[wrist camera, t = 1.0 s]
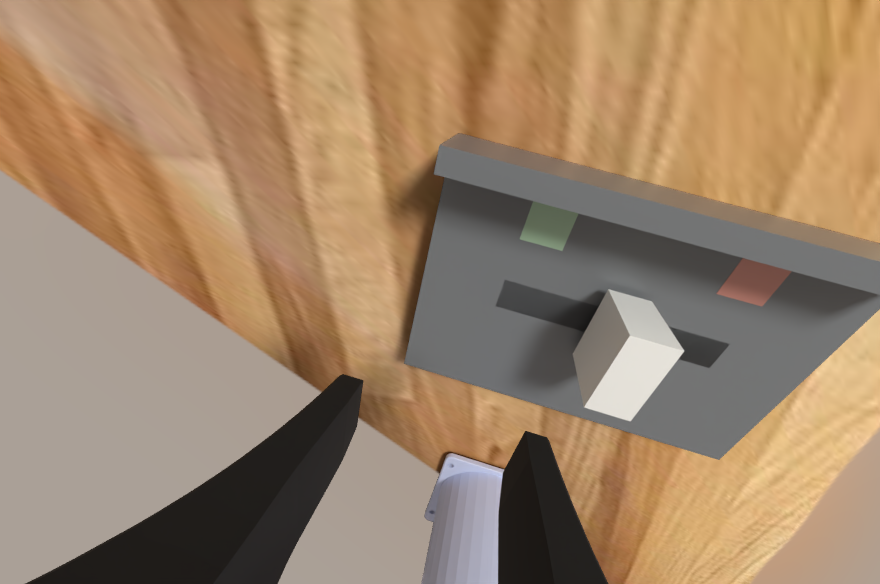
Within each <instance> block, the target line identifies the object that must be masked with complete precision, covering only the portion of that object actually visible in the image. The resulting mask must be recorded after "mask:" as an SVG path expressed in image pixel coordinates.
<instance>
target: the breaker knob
mask: <svg viewBox="0 0 880 584" xmlns="http://www.w3.org/2000/svg"><path fill="white" fill-rule="evenodd" d="M683 352H684V350H683V348H682V347H681V345H680V344H679V342H678V341H677V339H676V337H675V336H674V334H673V333H672V331H671V330H670V328H669V327H668V325H667V324H666V322H665V321H664V319H663V318H662V316H661V314H660V313H659V311H658V310H657V308H656V307H655V305H654V304H653V302H652V301H649V300H645V299H642V298H638V297H635V296H631V295H628V294H624V293H620V292H617V291H613V290H610V289H608V291H607V292H606V294H605V296H604V298H603V300H602V302H601V303H600V305H599V307H598V309H597V311H596V312H595V314H594V316H593V318H592V320H591V322H590V323H589V325H588V327H587V329H586V331H585V332H584V334H583V336H582V338H581V340H580V342H579V343H578V345H577V347H576V349H575V351H574V353H573V358H574V363H575V367H576V372H577V377H578V381H579V386H580V391H581V396H582V400H583V405H584V408H588V409H591V410H594V411H598V412H601V413H604V414H607V415H611V416H614V417H617V418H621V419H624V420H627V421H631V420H632V419H633V417H634V416H635V415H636V414H637V412H638V411H639V410H640V408H641V407H642V406H643V404H644V403H645V402H646V401H647V399H648V398H649V397H650V395H651V394H652V393H653V391H654V390H655V389H656V388H657V386H658V385H659V384H660V382H661V381H662V380H663V378H664V377H665V376H666V375H667V373H668V372H669V371H670V369H671V368H672V367H673V365H674V364H675V363H676V361H677V360H678V359H679V358H680V356H681V355H682V354H683Z"/></svg>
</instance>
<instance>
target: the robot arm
mask: <svg viewBox="0 0 880 584" xmlns="http://www.w3.org/2000/svg"><path fill="white" fill-rule="evenodd" d="M362 386H363V380H360V379H357V378H354V377H351V376H347V375H344V374H343V375H340V376H339V377H338V378H337V379H336V380H335V381H334V382H333V383H331V384H330V385H329V386H328V387H327V388H326V389H325V390H324V391H323V392H322V393H321V394H320V395H319V396H317V397H316V398H315V399H314V400H313V401H312V402H311V403H310V404H308V405H307V406H306V407H305V408H304V409H303V410H301V411H300V412H299V413H298V414H297V415H295V416H294V417H293V418H292V419H291V420H289V421H288V422H287V423H286V424H285V425H283V426H282V427H281V428H280V429H278V430H277V431H276V432H275V433H273V434H272V435H271V436H269V437H268V438H267V439H265V440H264V441H263V442H262V443H260V444H259V445H258V446H256V447H255V448H253V449H252V450H251V451H250V452H248V453H247V454H245V455H244V456H243V457H241V458H240V459H239V460H237V461H236V462H234V463H233V464H231V465H230V466H229V467H228V468H226V469H224V470H223V471H221V472H220V473H218V474H217V475H215V476H214V477H213V478H211V479H209V480H208V481H206V482H205V483H203V484H202V485H200V486H199V487H197V488H196V489H194V490H193V491H191V492H189V493H188V494H186V495H185V496H183V497H182V498H180V499H178V500H176V501H175V502H173V503H171V504H170V505H168V506H167V507H165V508H163V509H162V510H160V511H159V512H157V513H155V514H154V515H152V516H150V517H148V518H147V519H145V520H143V521H142V522H140V523H138V524H136V525H135V526H133V527H131V528H130V529H127V530H126V531H124V532H122V533H120V534H119V535H117V536H115V537H113V538H111V539H109V540H107V541H106V542H104V543H102V544H100V545H98V546H96V547H95V548H93V549H91V550H89V551H87V552H86V553H84V554H82V555H80V556H78V557H77V558H75V559H73V560H71V561H69V562H67V563H65V564H63V565H61V566H59V567H58V568H56V569H54V570H52V571H50V572H48V573H46V574H44V575H42V576H40V577H38V578H36V579H34V580H32V581H30V582H28V583H26V584H278V581H279V579H280V577H281V575H282V573H283V570H284V568H285V566H286V564H287V562H288V560H289V558H290V556H291V553H292V552H293V549H294V548H295V546H296V544H297V542H298V540H299V538H300V537H301V535H302V533H303V531H304V529H305V527H306V525H307V524H308V522H309V520H310V518H311V517H312V515H313V513H314V511H315V509H316V507H317V506H318V504H319V502H320V500H321V498H322V497H323V495H324V492H325V491H326V489H327V488H328V486H329V484H330V482H331V480H332V478H333V477H334V475H335V473H336V471H337V469H338V468H339V466H340V464H341V462H342V460H343V457H344V455H345V453H346V451H347V449H348V446H349V444H350V441H351V439H352V437H353V434H354V432H355V430H356V427H357V422H358V415H359V408H360V401H361V393H362ZM425 518H426V519H427V520H429V521H432V522H434V523H433V528H432V533H431V538H430V543H429V548H428V553H427V558H426V563H425V568H424V573H423V578H422V583H421V584H608V582H607V580H606V578H605V576H604V574H603V572H602V569H601V567H600V565H599V563H598V561H597V559H596V557H595V555H594V552H593V550H592V548H591V546H590V543H589V541H588V539H587V537H586V534H585V532H584V530H583V527H582V525H581V523H580V520H579V518H578V515H577V513H576V511H575V508H574V506H573V503H572V501H571V499H570V496H569V494H568V491H567V488H566V486H565V483H564V481H563V478H562V475H561V473H560V470H559V467H558V465H557V462H556V459H555V456H554V453H553V451H552V448H551V445H550V442H549V440H548V438H547V437H544V436H540V435H537V434H534V433H531V432H528V431H525V433H524V434H523V436H522V438H521V440H520V442H519V444H518V446H517V447H516V449H515V451H514V453H513V455H512V457H511V459H510V461H509V462H508V464H507V466H506V468H505V470H504V469H501V468H498V467H494V466H491V465H488V464H485V463H482V462H479V461H476V460H472V459H469V458H466V457H463V456H460V455H457V454H453V453H449V454H447V455H446V458H445V461H444V463H443V466H442V469H441V471H440V474H439V477H438V479H437V482H436V485H435V487H434V490H433V493H432V496H431V498H430V501H429V503H428V506H427V509H426V512H425Z"/></svg>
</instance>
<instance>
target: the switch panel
mask: <svg viewBox="0 0 880 584" xmlns="http://www.w3.org/2000/svg"><path fill="white" fill-rule="evenodd" d="M434 174H435V175H438V176H442V177H445V178H444V183H443V187H442V192H441V196H440V201H439V206H438V210H437V215H436V219H435V224H434V229H433V233H432V238H431V242H430V247H429V252H428V256H427V261H426V265H425V270H424V275H423V279H422V284H421V288H420V293H419V298H418V302H417V307H416V311H415V316H414V321H413V325H412V330H411V334H410V339H409V344H408V348H407V353H406V357H405V362H404V364H407V365H410V366H414V367H417V368H420V369H423V370H427V371H430V372H433V373H436V374H440V375H443V376H446V377H449V378H453V379H456V380H459V381H463V382H466V383H469V384H472V385H476V386H479V387H482V388H485V389H489V390H492V391H495V392H499V393H502V394H505V395H508V396H512V397H515V398H518V399H521V400H525V401H528V402H531V403H535V404H538V405H541V406H544V407H548V408H551V409H554V410H557V411H561V412H564V413H567V414H571V415H574V416H577V417H580V418H584V419H587V420H590V421H593V422H597V423H600V424H603V425H607V426H610V427H613V428H616V429H620V430H623V431H626V432H629V433H633V434H636V435H639V436H643V437H646V438H649V439H652V440H656V441H659V442H662V443H665V444H669V445H672V446H675V447H679V448H682V449H685V450H688V451H692V452H695V453H698V454H701V455H705V456H708V457H711V458H715V459H718V460H719V459H720V458H721V457H723V456H724V455H725V454H726V453H727V452H728V451H729V450H730V449H731V448H732V447H733V446H734V445H735V444H736V443H737V442H739V441H740V440H741V439H742V438H743V437H744V436H745V435H746V434H747V433H748V432H749V431H750V430H751V429H752V428H753V427H754V426H756V425H757V424H758V423H759V422H760V421H761V420H762V419H763V418H764V417H765V416H766V415H767V414H768V413H769V412H770V411H772V410H773V409H774V408H775V407H776V406H777V405H778V404H779V403H780V402H781V401H782V400H783V399H784V398H785V397H786V396H788V395H789V394H790V393H791V392H792V391H793V390H794V389H795V388H796V387H797V386H798V385H799V384H800V383H801V382H802V381H804V380H805V379H806V378H807V377H808V376H809V375H810V374H811V373H812V372H813V371H814V370H815V369H816V368H817V367H818V366H820V365H821V364H822V363H823V362H824V361H825V360H826V359H827V358H828V357H829V356H830V355H831V354H832V353H833V352H834V351H836V350H837V349H838V348H839V347H840V346H841V345H842V344H843V343H844V342H845V341H846V340H847V339H848V338H849V337H850V336H851V335H853V334H854V333H855V332H856V331H857V330H858V329H859V328H860V327H861V326H862V325H863V324H864V323H865V322H866V321H867V320H869V319H870V318H871V317H872V316H873V315H874V314H875V313H876V312H877V311H878V310H879V309H880V243H876V242H872V241H869V240H865V239H861V238H857V237H853V236H849V235H846V234H842V233H838V232H834V231H830V230H827V229H823V228H819V227H815V226H811V225H808V224H804V223H800V222H796V221H792V220H788V219H785V218H781V217H777V216H773V215H769V214H766V213H762V212H758V211H754V210H750V209H747V208H743V207H739V206H735V205H731V204H727V203H724V202H720V201H716V200H712V199H708V198H705V197H701V196H697V195H693V194H689V193H686V192H682V191H678V190H674V189H670V188H667V187H663V186H659V185H655V184H651V183H647V182H644V181H640V180H636V179H632V178H628V177H625V176H621V175H617V174H613V173H609V172H606V171H602V170H598V169H594V168H590V167H586V166H583V165H579V164H575V163H571V162H567V161H564V160H560V159H556V158H552V157H548V156H545V155H541V154H537V153H533V152H529V151H526V150H522V149H518V148H514V147H510V146H506V145H503V144H499V143H495V142H491V141H487V140H484V139H480V138H476V137H472V136H468V135H465V134H461V133H458V134H456V135H455V136H453V137H452V138H450V139H448V140H447V141H445V142H443V143H442V144H440V146H439V151H438V156H437V161H436V166H435V171H434ZM608 289H610V290H613V291H617V292H620V293H624V294H628V295H631V296H635V297H638V298H642V299H645V300H649V301H652V302H653V304H654V305H655V307H656V308H657V310H658V311H659V313H660V314H661V316H662V318H663V319H664V321H665V322H666V324H667V325H668V327H669V328H670V330H671V331H672V333H673V334H674V336H675V337H676V339H677V341H678V342H679V344H680V345H681V347H682V348H683V350H684V352H683V354H682V355H681V356H680V358H679V359H678V360H677V361H676V363H675V364H674V365H673V367H672V368H671V369H670V371H669V372H668V373H667V375H666V376H665V377H664V378H663V380H662V381H661V382H660V384H659V385H658V386H657V388H656V389H655V390H654V391H653V393H652V394H651V395H650V397H649V398H648V399H647V401H646V402H645V403H644V404H643V406H642V407H641V408H640V410H639V411H638V412H637V414H636V415H635V416H634V417H633V419H632V420H631V421H627V420H624V419H621V418H617V417H614V416H611V415H607V414H604V413H601V412H598V411H594V410H591V409H588V408H584V405H583V400H582V396H581V391H580V386H579V381H578V377H577V372H576V367H575V363H574V358H573V353H574V351H575V349H576V347H577V345H578V343H579V342H580V340H581V338H582V336H583V334H584V332H585V331H586V329H587V327H588V325H589V323H590V322H591V320H592V318H593V316H594V314H595V312H596V311H597V309H598V307H599V305H600V303H601V302H602V300H603V298H604V296H605V294H606V292H607V291H608Z"/></svg>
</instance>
